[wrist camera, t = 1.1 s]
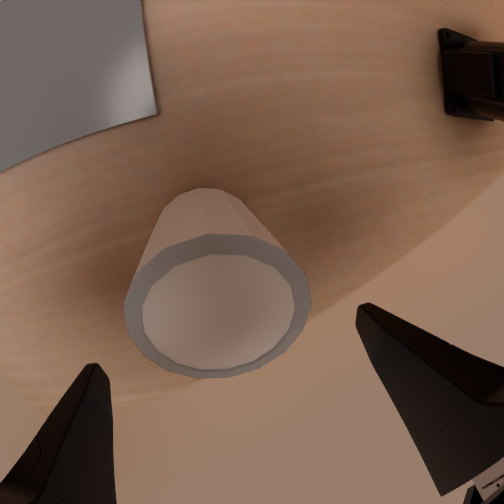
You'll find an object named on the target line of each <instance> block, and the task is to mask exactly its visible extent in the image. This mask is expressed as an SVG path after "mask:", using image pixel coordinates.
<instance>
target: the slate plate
mask: <svg viewBox="0 0 504 504" xmlns="http://www.w3.org/2000/svg"><path fill="white" fill-rule="evenodd" d="M156 114H159V110H158V105H157V99H156V94H155V88H154V82H153V76H152V69H151V63H150V56H149V49H148V42H147V35H146V27H145V18H144V10H143V0H2V1H0V172H2V171H4V170H6V169H8V168H10V167H12V166H14V165H16V164H18V163H20V162H22V161H24V160H26V159H28V158H31V157H33V156H35V155H37V154H40V153H42V152H44V151H47V150H49V149H52V148H54V147H56V146H59V145H61V144H64V143H67V142H69V141H72V140H75V139H77V138H80V137H83V136H86V135H88V134H91V133H94V132H97V131H100V130H103V129H106V128H110V127H113V126H116V125H119V124H123V123H126V122H130V121H133V120H137V119H141V118H144V117H148V116H152V115H156Z"/></svg>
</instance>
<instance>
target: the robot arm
mask: <svg viewBox="0 0 504 504" xmlns="http://www.w3.org/2000/svg"><path fill="white" fill-rule="evenodd" d="M439 36H440V44H441V52H442V61H443V72H444V86H445V110H446V113H447V114H448V115H449V116H454V117H463V118H472V119H480V120H487V121H494V119H497V120H500V121H504V43H503V42H487V41H477V40H475V39H473V38H470V37H468V36H466V35H463V34H461V33H458V32H456V31H453V30H450V29H447V28H441V29H440V30H439ZM356 328H357V331H358V333H359V335H360V338H361V340H362V342H363V344H364V347H365V349H366V352H367V354H368V356H369V359H370V361H371V363H372V365H373V367H374V369H375V371H376V372H377V374H378V376H379V378H380V380H381V381H382V383H383V385H384V386H385V388H386V390H387V392H388V394H389V396H390V398H391V399H392V401H393V403H394V405H395V407H396V409H397V410H398V412H399V414H400V416H401V418H402V420H403V422H404V423H405V425H406V427H407V429H408V431H409V433H410V435H411V437H412V439H413V441H414V443H415V445H416V447H417V449H418V451H419V453H420V454H421V457H422V459H423V461H424V463H425V465H426V467H427V469H428V471H429V473H430V475H431V477H432V479H433V481H434V483H435V486H436V488H437V490H438V492H439V494H440V496H441V497H442V496H444V495H445V494H447V493H449V492H451V491H453V490H455V489H456V488H458V487H460V486H461V485H463V484H465V483H466V482H468V481H470V480H471V479H472V480H473V482H474V484H473V485H472V486H471V487H470V488H468V489H467V493H466V496H465V499H464V502H463V504H504V367H502V366H500V365H497V364H495V363H492V362H489V361H487V360H484V359H482V358H480V357H477V356H475V355H472V354H470V353H468V352H466V351H464V350H462V349H460V348H458V347H456V346H454V345H452V344H451V345H450V343H448V342H446V341H444V340H442V339H440V338H438V337H436V336H434V335H433V334H431V333H429V332H426V331H425V330H423V329H421V328H419V327H417V326H415V325H413V324H411V323H409V322H407V321H405V320H403V319H401V318H399V317H397V316H395V315H393V314H391V313H389V312H387V311H386V310H384V309H382V308H380V307H378V306H376V305H374V304H372V303H365V304H362V305H359V306H358V308H357V315H356ZM0 504H117V503H116V492H115V478H114V459H113V415H112V404H111V391H110V381H109V378H108V376H107V375H106V373H105V372H104V371H103V369H102V368H101V366H100V365H99V364H98V363H90V364H87V365H86V366H85V367H84V368H83V370H82V371H81V372H80V374H79V375H78V376H77V378H76V379H75V380H74V382H73V383H72V384H71V386H70V387H69V389H68V390H67V391H66V393H65V394H64V395H63V397H62V398H61V400H60V401H59V402H58V404H57V405H56V407H55V408H54V410H53V411H52V412H51V414H50V415H49V417H48V418H47V420H46V421H45V423H44V424H43V425H42V427H41V428H40V430H39V431H38V433H37V435H36V436H35V438H34V439H33V440H32V442H31V443H30V445H29V446H28V448H27V449H26V451H25V452H24V453H23V455H22V456H21V457H20V459H19V460H18V461H17V463H16V464H15V465H14V466H13V468H12V469H11V470H10V472H9V473H8V474H7V475H6V477H5V478H4V479H3V480H2V482H1V483H0Z"/></svg>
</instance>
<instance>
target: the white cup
mask: <svg viewBox="0 0 504 504" xmlns="http://www.w3.org/2000/svg"><path fill="white" fill-rule="evenodd" d="M123 306H124V313H125V320H126V327H127V333H128V335H129V336H130V337H131V339H132V340H133V342H134V343H135V344H136V346H137V347H138V348H139V350H140V351H141V353H142V354H143V355H144V356H145V357H146V358H148V359H150V360H151V361H153V362H154V363H156V364H158V365H159V366H161V367H162V368H164V369H166V370H167V371H169V372H173V373H177V374H181V375H185V376H190V377H194V378H198V379H200V378H228V377H232V376H236V375H239V374H242V373H246V372H249V371H253V370H255V369H259V368H260V367H262V366H264V365H265V364H267V363H269V362H270V361H272V360H273V359H275V358H276V357H278V356H279V355H281V354H282V353H284V352H285V351H286V350H287V349H288V347H289V346H290V345H291V344H292V343H293V342H294V340H295V339H296V338H297V337H298V336H299V334H300V333H301V332H302V331H303V328H304V325H305V322H306V319H307V316H308V313H309V310H310V307H311V299H310V292H309V286H308V280H307V276H306V275H305V274H304V272H303V271H302V270H301V269H300V267H299V266H298V265H297V264H296V262H295V261H294V260H293V259H292V257H291V256H290V255H289V254H288V252H287V251H286V250H285V249H284V248H283V247H282V246H281V244H280V243H279V242H278V241H277V240H276V239H275V238H274V237H273V235H272V234H271V233H270V232H269V231H268V230H267V229H266V228H265V227H264V225H263V224H262V223H261V222H260V221H259V220H258V219H257V218H256V217H255V215H254V214H253V213H252V212H251V211H250V210H249V209H248V208H247V207H246V206H245V204H244V203H243V202H242V201H241V200H240V199H239V198H238V197H236V196H234V195H232V194H230V193H228V192H226V191H223V190H221V189H213V188H197V189H194V190H191V191H188V192H185V193H182V194H179V195H178V196H177V197H175V198H174V199H173V200H172V201H171V202H170V203H169V204H167V205H166V206H165V207H164V208H163V210H162V212H161V214H160V216H159V218H158V221H157V223H156V225H155V227H154V229H153V232H152V234H151V236H150V239H149V241H148V243H147V246H146V248H145V250H144V253H143V255H142V258H141V260H140V262H139V265H138V267H137V270H136V272H135V275H134V277H133V280H132V283H131V285H130V288H129V291H128V293H127V296H126V299H125V301H124V304H123Z"/></svg>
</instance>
